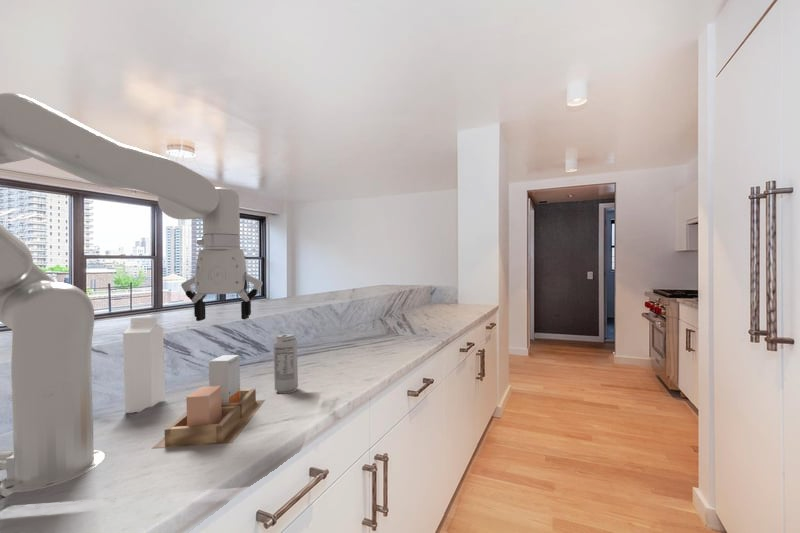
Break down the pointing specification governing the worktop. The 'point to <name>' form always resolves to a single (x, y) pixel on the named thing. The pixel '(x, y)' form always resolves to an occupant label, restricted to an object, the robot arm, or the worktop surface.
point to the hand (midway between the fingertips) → (223, 319)
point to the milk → (143, 364)
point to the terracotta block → (204, 406)
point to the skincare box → (226, 377)
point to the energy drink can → (285, 363)
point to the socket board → (221, 433)
